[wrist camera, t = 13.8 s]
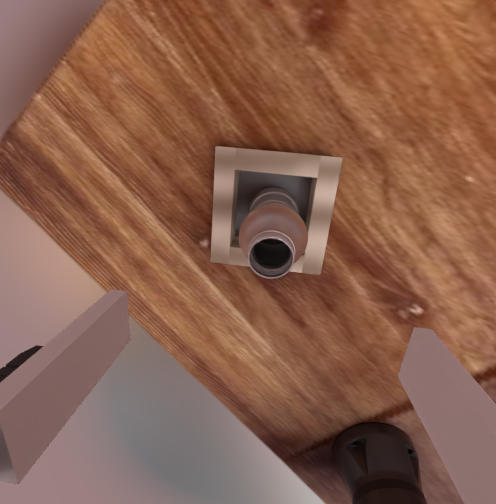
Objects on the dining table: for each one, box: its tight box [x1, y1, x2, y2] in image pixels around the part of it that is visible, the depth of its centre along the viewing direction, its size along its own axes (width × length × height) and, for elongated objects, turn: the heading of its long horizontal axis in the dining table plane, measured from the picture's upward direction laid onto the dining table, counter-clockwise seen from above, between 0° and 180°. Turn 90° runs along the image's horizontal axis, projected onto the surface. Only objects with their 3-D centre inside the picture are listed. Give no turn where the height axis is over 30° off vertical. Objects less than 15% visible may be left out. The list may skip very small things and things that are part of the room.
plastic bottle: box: [239, 188, 308, 279], centre depth 32 cm, size 6×7×20 cm
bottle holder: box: [211, 146, 343, 275], centre depth 39 cm, size 15×15×6 cm
